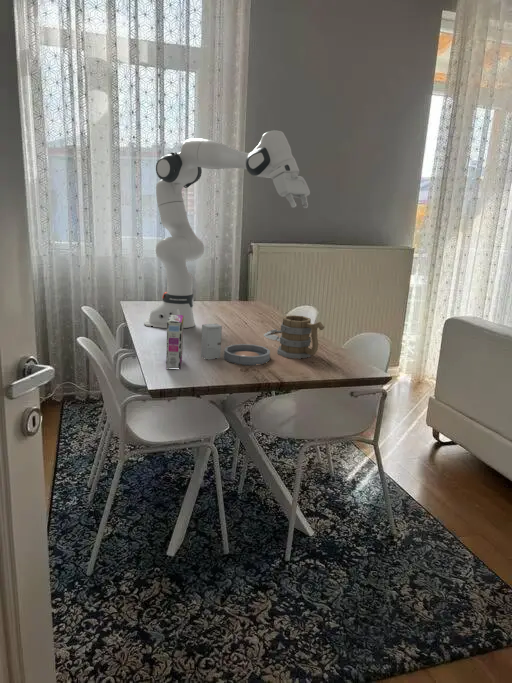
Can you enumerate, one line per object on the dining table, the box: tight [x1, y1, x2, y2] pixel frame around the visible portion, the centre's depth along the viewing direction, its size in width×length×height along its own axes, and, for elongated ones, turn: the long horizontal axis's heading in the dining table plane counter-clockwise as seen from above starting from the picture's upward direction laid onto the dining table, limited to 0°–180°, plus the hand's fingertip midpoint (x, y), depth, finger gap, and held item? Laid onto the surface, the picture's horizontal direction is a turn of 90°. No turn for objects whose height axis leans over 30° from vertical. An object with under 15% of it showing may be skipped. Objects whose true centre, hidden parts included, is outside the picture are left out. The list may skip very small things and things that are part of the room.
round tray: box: [223, 343, 271, 366], centre depth 188 cm, size 17×17×3 cm
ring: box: [263, 328, 282, 342], centre depth 223 cm, size 19×19×2 cm
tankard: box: [276, 314, 325, 360], centre depth 193 cm, size 20×13×15 cm, turn 36°
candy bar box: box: [165, 315, 184, 370], centre depth 175 cm, size 11×5×16 cm, turn 4°
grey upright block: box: [200, 323, 223, 360], centre depth 186 cm, size 6×4×12 cm
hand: (300, 207), depth 191 cm, fingers open, 8 cm apart
